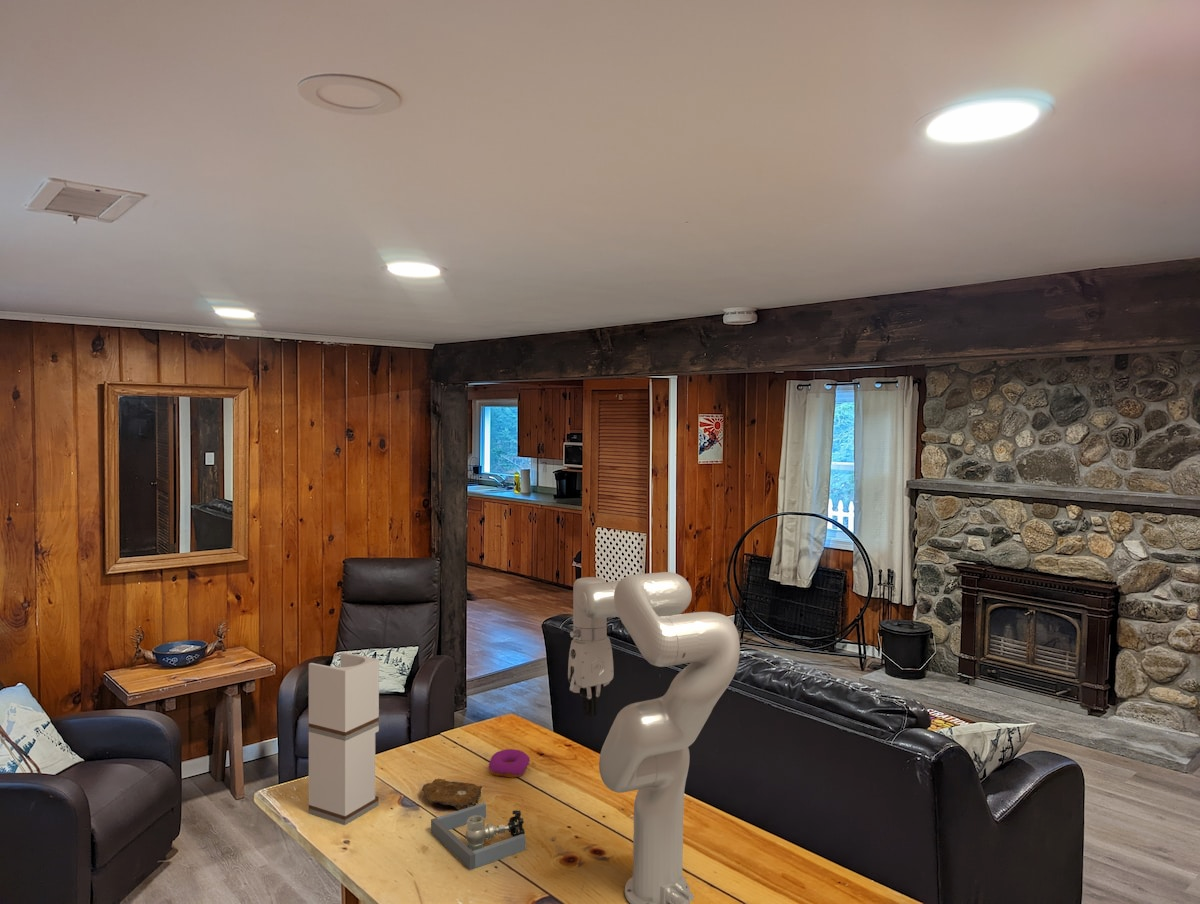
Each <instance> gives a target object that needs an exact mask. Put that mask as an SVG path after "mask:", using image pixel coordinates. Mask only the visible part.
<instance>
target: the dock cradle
mask: <svg viewBox="0 0 1200 904" xmlns="http://www.w3.org/2000/svg"><path fill="white" fill-rule="evenodd" d="M474 815H479V816H482V817H484V818H485V819H486V818H487V804H486V803H485V802H482V803H478V804H476V805H475V806H472V807H469V808H465V809H462V810H456V811H452V812H450V813H447V814H444V815H440V816H437V817H434V818H430V834H431V835H432V836H433V837H435V838H436V839H437V840H438V841H439V842H440V843H441V844H442V845H443V846H444V847H445V848H446V849H447V850H448V851H449V852H450V853H451V854H452V855H453V856H454V857H455V858H456V859H457V860H458V861H459V862H461V863H462V864H463V865H464V866H465V868H466V869H468V871H472V870H474V869H477V868H480V867H483V866H486V865H488V864H491V863H494V862H496V861H499V860H501V859H504V858H507V857H510V856H513V855H515V854H519V853H521V852H524V851H526V839H527V837H526V834H520V835H518V836H515V837H513V836H512V837H510V838H506V839H504V840H500V841H498V842H495V843H492V844H490V845H487V846H484V847H483V848H481V849H478V850H475V851H472V850H471V849H469V848H468V847H467V844H466V843H464V842H463V841H462V840H461V839H460V838H459V837H458V836H456V834H454V833H453V832H452V829H456V828H459V827H462V826H464V825H467V820H468V818H469V817H471V816H474Z"/></svg>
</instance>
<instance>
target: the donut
mask: <svg viewBox="0 0 1200 904" xmlns="http://www.w3.org/2000/svg"><path fill="white" fill-rule="evenodd" d="M530 759H531V758H530V757H529V756H528V754H527V753H525V752H524V751H521V750H518V749H515V748H511V749H510V748H508V749H502V750H499V751H497V752H495V753H493V755H492V756H491V758H490V760H489V763H488V769H489V770H490V772H491V774H492V775H493V776H496V777H507V778H511V779H512V778H514V779H515V778H518V777H521V776H522V775H523V774H524V773H525V772H526V771H527V769H528V767H529V765H530V761H531V760H530Z"/></svg>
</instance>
